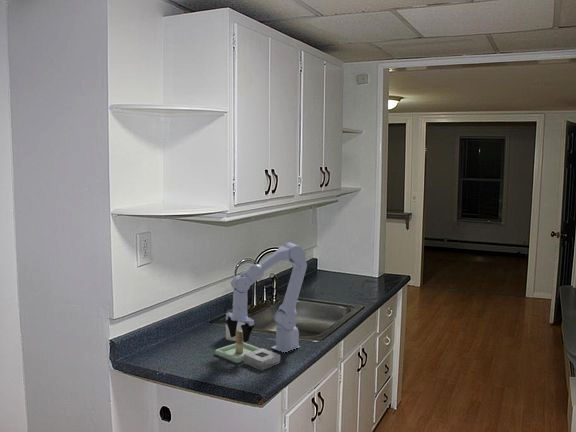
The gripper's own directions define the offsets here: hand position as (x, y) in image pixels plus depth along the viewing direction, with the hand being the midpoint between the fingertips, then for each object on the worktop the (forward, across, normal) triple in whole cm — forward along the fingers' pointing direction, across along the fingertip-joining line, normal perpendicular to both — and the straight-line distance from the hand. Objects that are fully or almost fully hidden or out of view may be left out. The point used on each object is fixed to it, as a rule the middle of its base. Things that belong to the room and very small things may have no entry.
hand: (239, 339), depth 225 cm
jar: (+7, -16, +12) cm, 21 cm away
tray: (+6, 0, 0) cm, 6 cm away
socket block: (+6, +13, 0) cm, 14 cm away
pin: (+6, 0, 0) cm, 6 cm away
